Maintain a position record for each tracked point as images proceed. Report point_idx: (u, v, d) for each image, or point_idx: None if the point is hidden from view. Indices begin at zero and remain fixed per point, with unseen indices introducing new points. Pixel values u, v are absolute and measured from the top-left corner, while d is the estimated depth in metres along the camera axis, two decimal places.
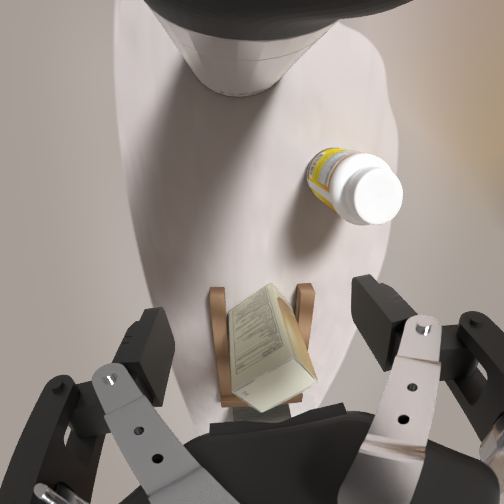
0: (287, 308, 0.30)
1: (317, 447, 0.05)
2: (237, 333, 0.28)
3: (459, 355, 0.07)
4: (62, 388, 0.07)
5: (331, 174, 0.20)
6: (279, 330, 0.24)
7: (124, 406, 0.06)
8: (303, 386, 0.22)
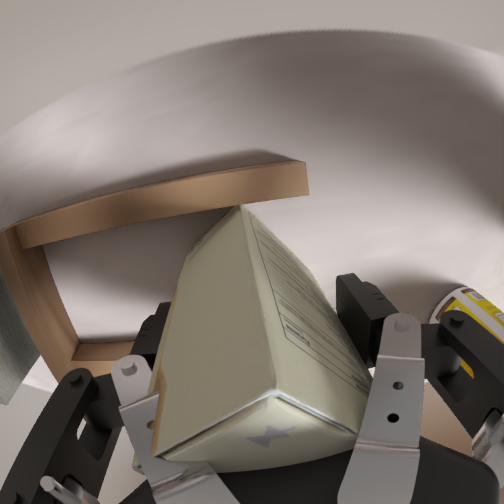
0: None
1: None
2: (266, 250, 0.11)
3: (439, 353, 0.07)
4: (80, 381, 0.07)
5: None
6: (365, 368, 0.09)
7: (140, 399, 0.06)
8: None
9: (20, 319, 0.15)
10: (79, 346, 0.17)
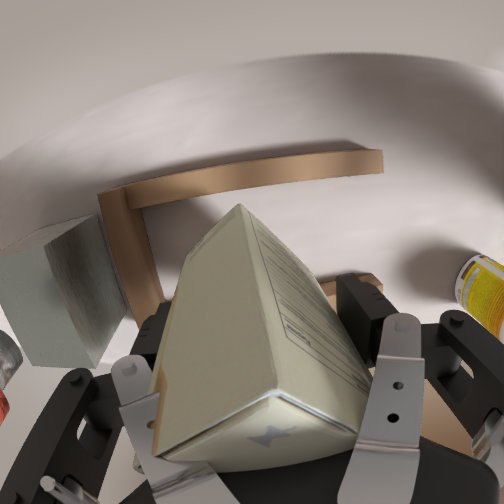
0: None
1: None
2: (266, 250, 0.11)
3: (439, 354, 0.07)
4: (80, 381, 0.07)
5: None
6: (366, 368, 0.09)
7: (140, 399, 0.06)
8: None
9: (106, 283, 0.19)
10: None
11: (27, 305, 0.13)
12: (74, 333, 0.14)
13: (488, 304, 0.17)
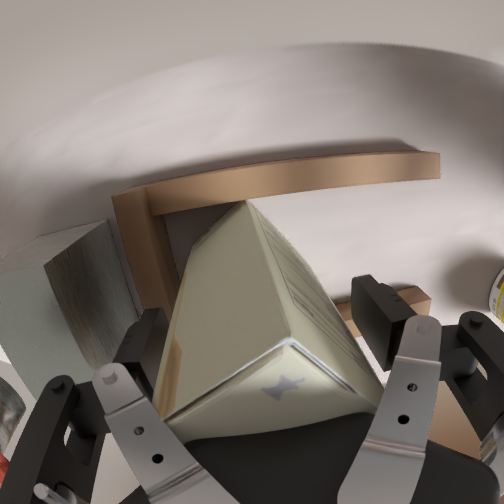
0: None
1: (317, 447, 0.05)
2: (271, 238, 0.11)
3: (459, 355, 0.07)
4: (62, 388, 0.07)
5: None
6: (361, 350, 0.10)
7: (124, 406, 0.06)
8: None
9: (121, 303, 0.16)
10: None
11: (26, 335, 0.10)
12: (87, 371, 0.11)
13: None
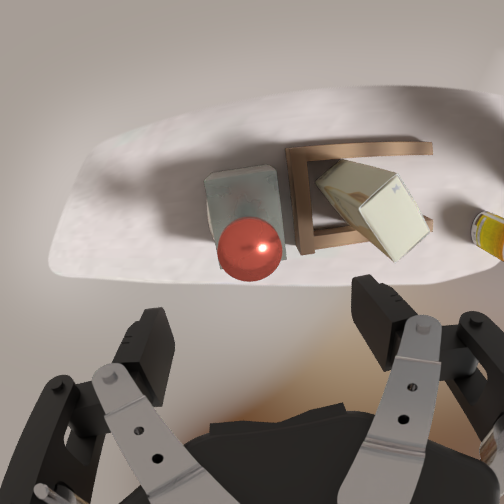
0: None
1: (317, 447, 0.05)
2: None
3: (459, 355, 0.07)
4: (62, 388, 0.07)
5: None
6: None
7: (124, 406, 0.06)
8: (394, 249, 0.21)
9: None
10: None
11: (243, 213, 0.25)
12: (280, 231, 0.25)
13: (493, 237, 0.28)
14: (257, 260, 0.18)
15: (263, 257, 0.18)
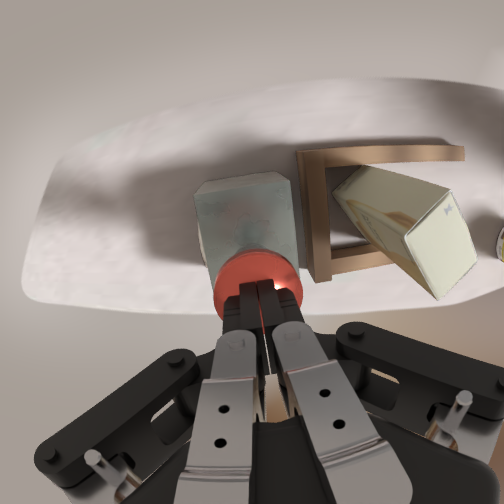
0: None
1: None
2: None
3: None
4: (184, 362, 0.08)
5: None
6: None
7: (227, 379, 0.06)
8: (439, 285, 0.15)
9: None
10: None
11: (246, 237, 0.19)
12: (294, 260, 0.20)
13: None
14: None
15: None
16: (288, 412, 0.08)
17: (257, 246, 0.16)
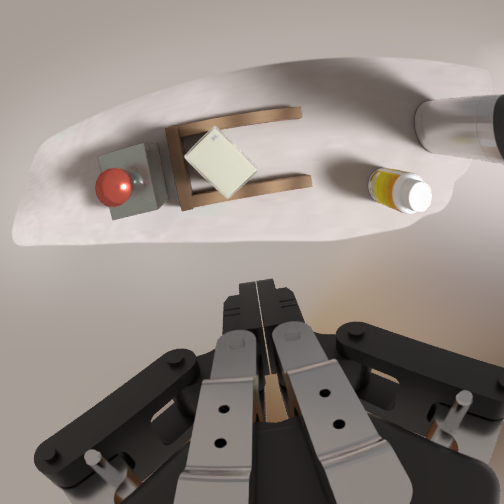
0: None
1: None
2: None
3: None
4: (184, 362, 0.08)
5: None
6: None
7: (227, 379, 0.06)
8: (223, 186, 0.27)
9: (161, 178, 0.37)
10: (192, 194, 0.39)
11: None
12: (150, 187, 0.32)
13: (384, 187, 0.36)
14: (117, 192, 0.27)
15: (120, 190, 0.27)
16: (288, 412, 0.08)
17: None
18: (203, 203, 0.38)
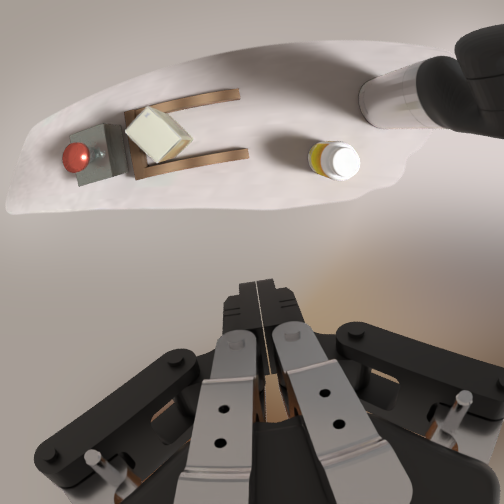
0: (180, 150, 0.40)
1: None
2: (166, 115, 0.36)
3: None
4: (184, 362, 0.08)
5: None
6: (183, 136, 0.35)
7: (227, 379, 0.06)
8: (153, 153, 0.32)
9: (121, 153, 0.41)
10: (147, 167, 0.43)
11: None
12: (107, 159, 0.36)
13: (316, 157, 0.40)
14: (77, 161, 0.31)
15: (79, 159, 0.31)
16: (288, 412, 0.08)
17: None
18: (154, 173, 0.42)
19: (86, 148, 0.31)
